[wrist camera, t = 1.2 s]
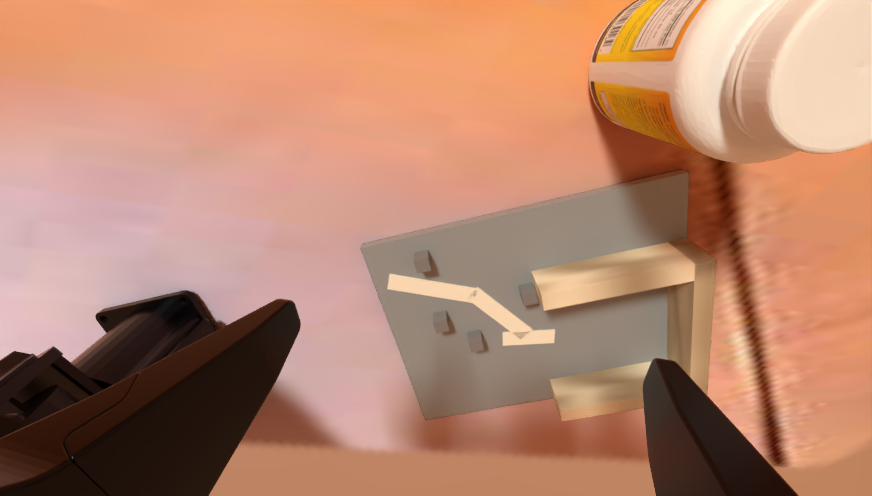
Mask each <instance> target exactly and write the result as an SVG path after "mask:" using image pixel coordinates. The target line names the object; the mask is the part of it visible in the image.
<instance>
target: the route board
mask: <svg viewBox="0 0 872 496" xmlns="http://www.w3.org/2000/svg"><path fill="white" fill-rule="evenodd" d="M688 187H689V172H687V171H685V170H683V169H681V170H677V171H673V172H668V173H664V174H660V175H655V176H651V177H647V178H643V179H638V180H634V181H630V182H625V183H621V184H617V185H612V186H608V187H604V188H600V189H595V190H591V191H587V192H582V193H578V194H574V195H570V196H565V197H561V198H557V199H552V200H548V201H544V202H539V203H535V204H531V205H527V206H522V207H518V208H514V209H509V210H505V211H501V212H496V213H492V214H488V215H484V216H479V217H475V218H471V219H466V220H462V221H458V222H454V223H449V224H445V225H441V226H436V227H432V228H428V229H423V230H419V231H415V232H411V233H406V234H402V235H398V236H393V237H389V238H385V239H380V240H376V241H372V242H368V243H363V244H362V246H361V248H360V249H361V251H362V254H363V257H364V259H365V262H366V265H367V267H368V270H369V273H370V275H371V278H372V280H373V283H374V286H375V288H376V291H377V294H378V296H379V299H380V301H381V304H382V307H383V309H384V312H385V315H386V317H387V320H388V322H389V325H390V328H391V330H392V333H393V336H394V338H395V341H396V344H397V346H398V349H399V351H400V354H401V357H402V359H403V362H404V365H405V367H406V370H407V372H408V375H409V378H410V380H411V383H412V386H413V388H414V391H415V393H416V396H417V399H418V401H419V404H420V407H421V409H422V412H423V415H424V417H425V420H429V419H435V418H440V417H446V416H452V415H458V414H464V413H469V412H475V411H481V410H487V409H493V408H499V407H504V406H510V405H516V404H522V403H528V402H533V401H539V400H545V399H551V398H554V396H553V393H552V391H551V385H550V379H555V378H561V377H567V376H572V375H578V374H584V373H589V372H595V371H600V370H606V369H612V368H617V367H623V366H628V365H634V364H640V363H645V362H651V361H652V360H653V359H654V358H662V359H667V292H668V286H666V287H661V288H656V289H651V290H646V291H641V292H636V293H631V294H626V295H621V296H616V297H611V298H606V299H601V300H596V301H591V302H586V303H581V304H576V305H571V306H566V307H561V308H556V309H551V310H546V311H544V309H543V307H542V305H541V302H540V300H539V297H538V295H537V293H536V290H535V288H534V285H533V279H532V273H531V271H534V270H539V269H544V268H548V267H553V266H558V265H562V264H567V263H572V262H577V261H581V260H586V259H591V258H595V257H600V256H605V255H610V254H614V253H619V252H624V251H628V250H633V249H638V248H643V247H647V246H652V245H657V244H661V243H666V242H671V241H676V240H680V239H685V238H687V220H688Z"/></svg>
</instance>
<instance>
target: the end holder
mask: <svg viewBox="0 0 872 496" xmlns="http://www.w3.org/2000/svg"><path fill="white" fill-rule="evenodd" d="M716 261H717V259H715V258H714V257H713V256H711V255H710V254H708V253H707V252H706V251H704V250H703V249H701V248H700V247H699V246H697V245H696V244H694V243H693V242H692V241H690V240H689V239H688V238H685V239H680V240H676V241H671V242H666V243H661V244H657V245H652V246H647V247H643V248H638V249H633V250H628V251H624V252H619V253H614V254H610V255H605V256H600V257H595V258H591V259H586V260H581V261H577V262H572V263H567V264H562V265H558V266H553V267H548V268H544V269H539V270H534V271H531V273H532V279H533V285H534V288H535V290H536V293H537V295H538V297H539V300H540V302H541V305H542V307H543V309H544V311H546V310H551V309H556V308H561V307H566V306H571V305H576V304H581V303H586V302H591V301H596V300H601V299H606V298H611V297H616V296H621V295H626V294H631V293H636V292H641V291H646V290H651V289H656V288H661V287H666V286H668V292H667V359H668V360H673V361H675V362H676V363H678V364H679V365H680V366H681V368H682V369H683V370H684V371H685V372H686V373H687V374H688V375H689V376H690V377H691V379H692V380H693V381H694V382H695V383H696V384H697V385H698V386H699V387H700V388H701V389H702V391H703V392H704V393H705V394H706V395H707V391H708V376H709V362H710V348H711V333H712V319H713V304H714V290H715V276H716ZM651 362H652V361H651ZM651 362H645V363H640V364H634V365H628V366H623V367H617V368H612V369H606V370H600V371H595V372H589V373H584V374H578V375H572V376H567V377H561V378H555V379H550V385H551V391H552V393H553V396H554V399H555V402H556V405H557V408H558V411H559V414H560V417H561V420H562V421H569V420H575V419H581V418H587V417H593V416H599V415H605V414H611V413H617V412H623V411H629V410H635V409H642V408H644V402H643V381H644V379H645V376H646V374H647V371H648V369H649V367H650V364H651Z"/></svg>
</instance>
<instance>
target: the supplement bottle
mask: <svg viewBox="0 0 872 496" xmlns="http://www.w3.org/2000/svg"><path fill="white" fill-rule="evenodd" d="M589 87H590V92H591V95H592V98H593V100H594V102H595V104H596V106H597V108H598V109H599V111H600V112H601V113H602V114H603V115H604V116H605V117H606V118H607V119H608V120H610V121H611V122H613V123H615V124H617V125H619V126H621V127H624V128H627V129H630V130H633V131H636V132H639V133H642V134H645V135H647V136H650V137H653V138H656V139H659V140H662V141H665V142H668V143H671V144H674V145H677V146H680V147H683V148H686V149H688V150H691V151H694V152H697V153H700V154H703V155H706V156H708V157H711V158H714V159H718V160H722V161H726V162H732V163H760V162H766V161H771V160H775V159H779V158H782V157H785V156H788V155H790V154H793V153H795V152H797V151H802V152H807V153H815V154H829V153H838V152H843V151H848V150H852V149H855V148H857V147H860V146H863V145H865V144H868V143H870V142H872V0H637V1H635V2H633V3H631V4H630V5H628V6H627V7H625V8H624V9H623V10H622V11H620V12H619V13H618V14H617V15H616V16H615V17H614V18H613V19H612V20H611V21H610V22H609V24H608V25H607V26H606V27H605V29H604V30H603V32H602V33H601V35H600V37H599V39H598V40H597V43H596V45H595V47H594V50H593V53H592V56H591V60H590V65H589Z"/></svg>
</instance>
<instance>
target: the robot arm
mask: <svg viewBox="0 0 872 496" xmlns="http://www.w3.org/2000/svg"><path fill="white" fill-rule="evenodd" d="M184 298H185V299H187V300H185V299H184ZM96 320H97V321H98V323H99V324H100V325H101V326H102V328H103V329H104V330H105V331H106V334H105V335H104V336H103V337H102V338H100V339H99V340H98V341H97V342H95V343H94V344H93V345H92V346H91V347H89V348H88V349H87V350H86V351H84V352H83V353H82V354H81V355H79V356H78V357H77V358H76V359H75V360H73V361H72V362H71V363H70V362H69V361H68V360H67V359H65V358H64V357H63V356H61V355H63V353H61V352H60V351H59V350H58V349H56V348H55V347H54V346H53V347H51V348H50V349H48V350H46V351H45V352H43V353H41V354H40V355H38V356H35V355H34V354H26V353H21V352H16V351H14V352H12V353H10V354H9V355H7V356H6V357H4V358H3V359H1V360H0V496H209V494H210V492H211V491H212V489H213V487H214V485H215V484H216V482H217V480H218V479H219V477H220V475H221V474H222V472H223V470H224V468H225V467H226V465H227V463H228V462H229V460H230V458H231V457H232V455H233V453H234V452H235V450H236V448H237V446H238V445H239V443H240V441H241V440H242V438H243V436H244V435H245V433H246V431H247V429H248V428H249V426H250V424H251V423H252V421H253V419H254V418H255V416H256V414H257V412H258V411H259V409H260V407H261V406H262V404H263V402H264V401H265V399H266V397H267V396H268V394H269V392H270V390H271V389H272V387H273V385H274V383H275V382H276V380H277V378H278V376H279V374H280V372H281V370H282V367H283V365H284V363H285V361H286V359H287V357H288V354H289V352H290V350H291V348H292V346H293V344H294V341H295V339H296V337H297V335H298V333H299V330H300V319H299V316H298V313H297V309H296V306H295V303H294V302H293V301H291V300H285V299H277V300H275V301H273V302H271V303H269V304H267V305H265V306H263V307H261V308H259V309H257V310H256V311H254V312H252V313H250V314H248V315H246V316H244V317H242V318H240V319H238V320H236V321H235V322H233V323H231V324H229V325H227V326H225V327H223V328H221V329H219V330H217V331H216V329H215V327H214V326H213V324H212V323H211V321H210V319H209V318H208V316H207V315H206V313H205V311H204V310H203V308H202V307H201V305H200V303H199V302H198V300H197V299H196V297H195V295H194V294H193V293H191V292H190V291H179V292H175V293H171V294H166V295H162V296H158V297H153V298H149V299H145V300H140V301H136V302H132V303H128V304H123V305H119V306H115V307H110V308H106V309H103V310H101V311H100V312H99V313H97V314H96ZM643 402H644V413H645V424H646V436H647V447H648V456H649V462H650V468H651V472H652V478H653V482H654V487H655V492H656V496H798V494H797V493H796V492H795V491H794V490H793V489H792V488H791V487H790V486H789V485H788V484H787V483H786V481H785V480H784V479H783V478H782V477H781V476H780V475H779V474H778V473H777V471H776V470H775V469H774V468H773V467H772V466H771V465H770V464H769V463H768V462H767V461H766V459H765V458H764V457H763V456H762V455H761V454H760V453H759V452H758V451H757V450H756V448H755V447H754V446H753V445H752V444H751V443H750V442H749V441H748V440H747V439H746V438H745V436H744V435H743V434H742V433H741V432H740V431H739V430H738V429H737V428H736V427H735V426H734V424H733V423H732V422H731V421H730V420H729V419H728V418H727V417H726V416H725V415H724V414H723V412H722V411H721V410H720V409H719V408H718V407H717V406H716V405H715V404H714V403H713V401H712V400H711V399H710V398H709V397H708V396H707V395H706V394H705V393H704V392H703V391H702V389H701V388H700V387H699V386H698V385H697V384H696V383H695V382H694V381H693V380H692V379H691V377H690V376H689V375H688V374H687V373H686V372H685V371H684V370H683V369H682V368H681V366H680V365H679V364H678V363H676V362H675V361H673V360H668V359H662V358H654V359H653V360H652V362H651V364H650V367H649V369H648V371H647V374H646V376H645V379H644V381H643Z"/></svg>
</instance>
